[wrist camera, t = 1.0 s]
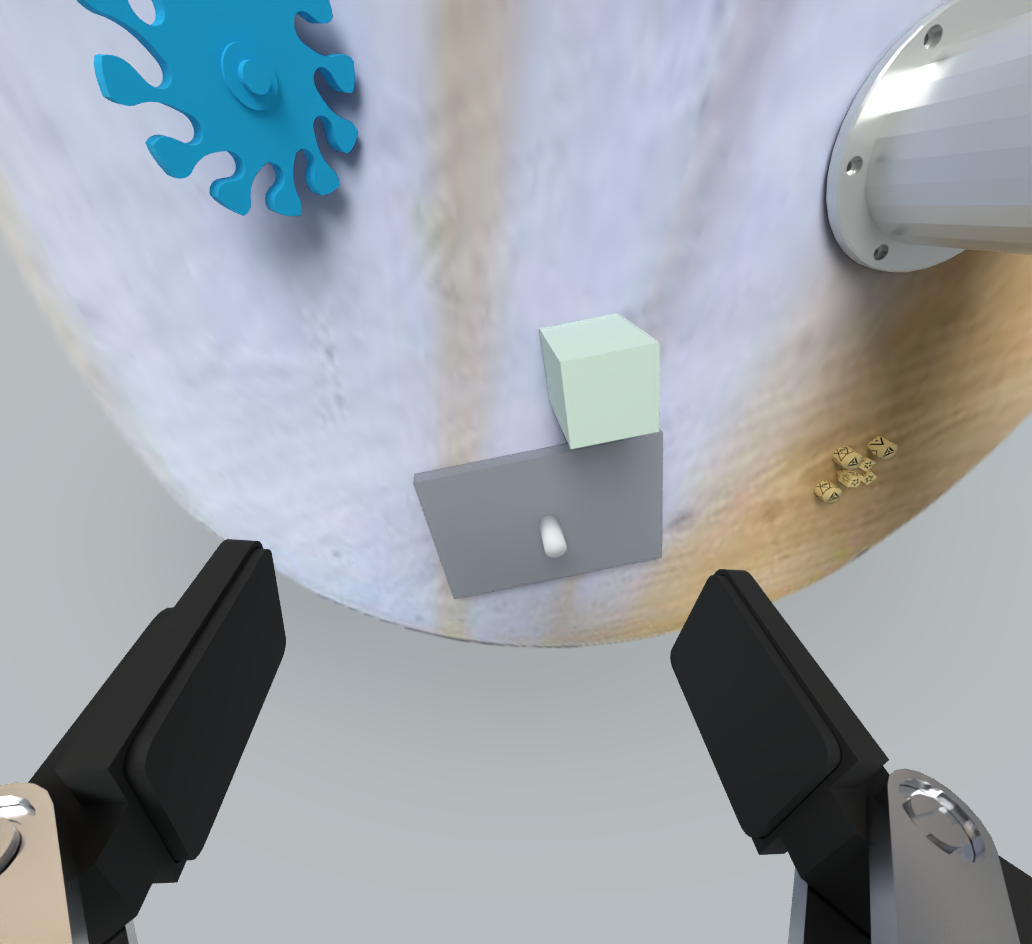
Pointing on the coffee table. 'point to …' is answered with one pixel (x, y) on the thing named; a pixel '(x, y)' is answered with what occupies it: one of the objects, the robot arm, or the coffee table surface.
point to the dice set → (851, 461)
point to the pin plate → (545, 513)
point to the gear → (235, 90)
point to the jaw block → (602, 379)
